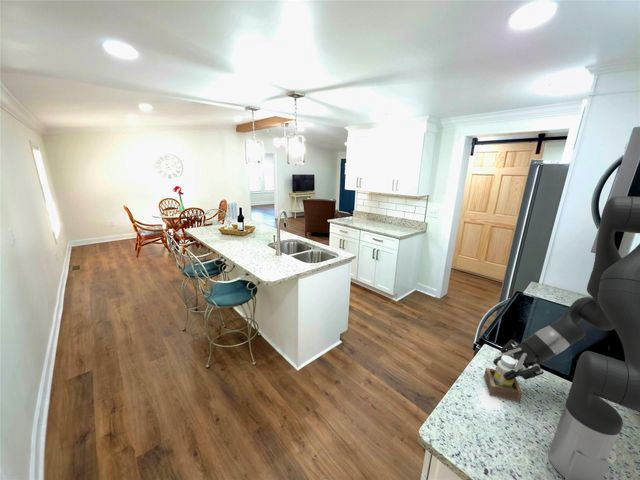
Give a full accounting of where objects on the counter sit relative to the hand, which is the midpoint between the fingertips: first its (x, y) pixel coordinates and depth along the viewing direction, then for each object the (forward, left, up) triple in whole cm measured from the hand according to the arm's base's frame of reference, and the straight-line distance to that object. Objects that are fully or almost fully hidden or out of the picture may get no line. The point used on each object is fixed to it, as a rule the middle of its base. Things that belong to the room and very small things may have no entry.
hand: (500, 371), depth 88 cm
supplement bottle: (+1, -2, -5) cm, 5 cm away
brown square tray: (0, -2, -7) cm, 8 cm away
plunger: (0, -2, -5) cm, 6 cm away
